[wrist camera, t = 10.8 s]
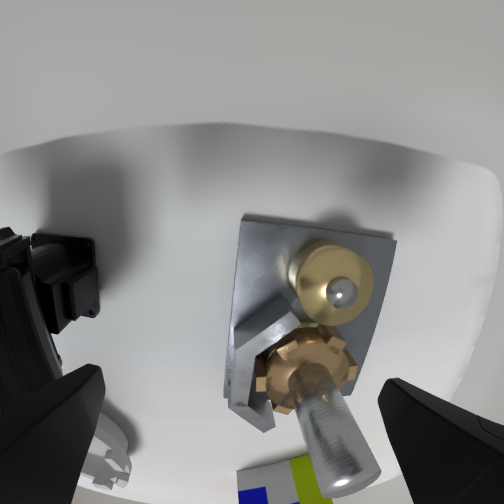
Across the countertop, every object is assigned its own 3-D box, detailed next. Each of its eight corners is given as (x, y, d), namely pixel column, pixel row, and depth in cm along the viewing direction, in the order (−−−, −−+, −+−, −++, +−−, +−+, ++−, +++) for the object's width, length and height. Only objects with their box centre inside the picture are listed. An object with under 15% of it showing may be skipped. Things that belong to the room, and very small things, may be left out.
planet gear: (253, 397, 21) (271, 520, 10) (253, 324, 20) (281, 465, 8) (338, 387, 22) (392, 490, 10) (351, 316, 20) (440, 420, 9)
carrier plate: (222, 400, 23) (223, 443, 18) (241, 219, 19) (246, 231, 14) (343, 398, 24) (362, 434, 19) (390, 238, 20) (431, 254, 15)
